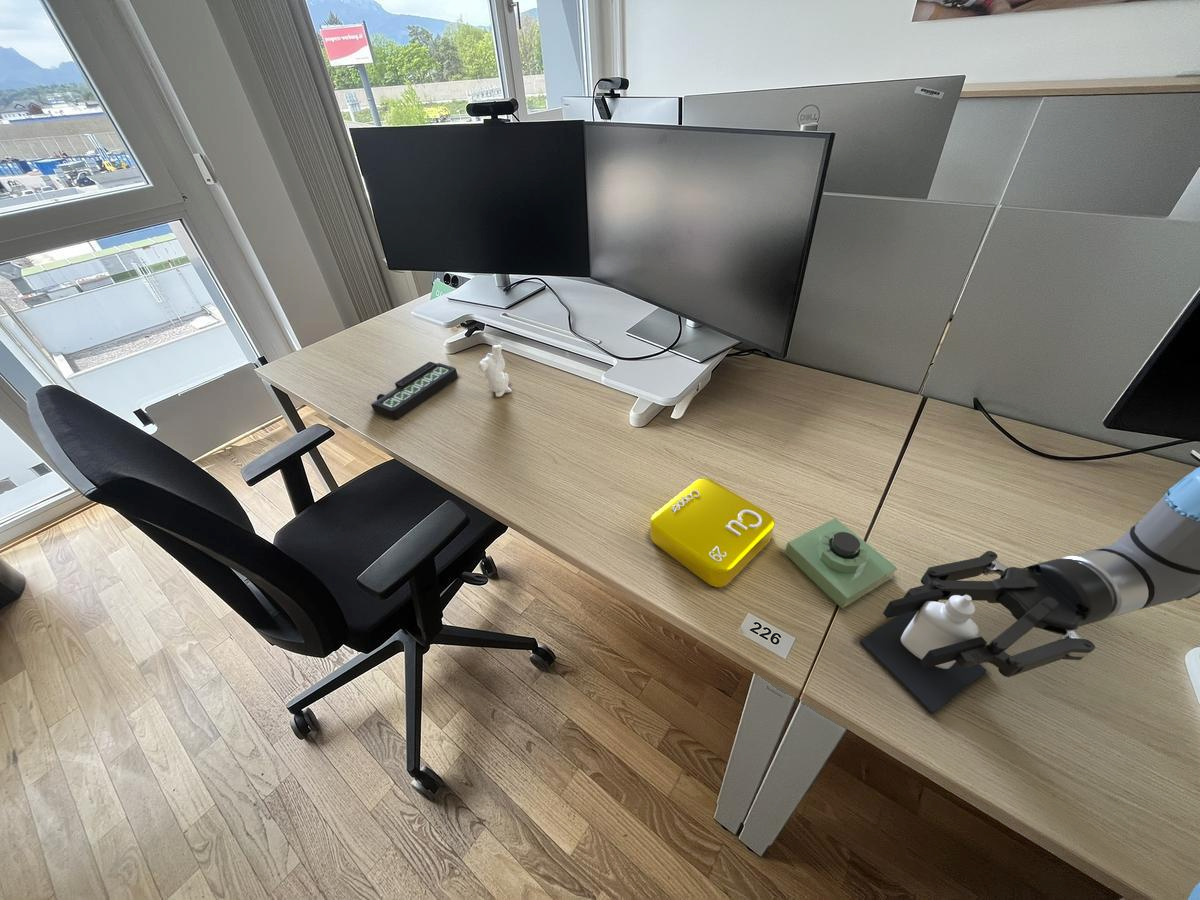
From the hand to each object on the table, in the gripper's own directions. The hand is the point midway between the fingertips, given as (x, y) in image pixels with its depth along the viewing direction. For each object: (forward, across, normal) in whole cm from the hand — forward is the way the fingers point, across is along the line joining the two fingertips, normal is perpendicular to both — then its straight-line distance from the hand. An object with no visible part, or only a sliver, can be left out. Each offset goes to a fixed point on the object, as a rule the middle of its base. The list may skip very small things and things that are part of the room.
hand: (907, 633), depth 53 cm
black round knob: (-3, +15, -4) cm, 16 cm away
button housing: (-3, +15, -8) cm, 17 cm away
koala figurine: (+45, +81, -9) cm, 93 cm away
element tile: (+13, +25, -8) cm, 30 cm away
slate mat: (-5, 0, -8) cm, 10 cm away
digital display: (+66, +87, -9) cm, 110 cm away
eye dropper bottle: (-5, 0, -7) cm, 9 cm away
